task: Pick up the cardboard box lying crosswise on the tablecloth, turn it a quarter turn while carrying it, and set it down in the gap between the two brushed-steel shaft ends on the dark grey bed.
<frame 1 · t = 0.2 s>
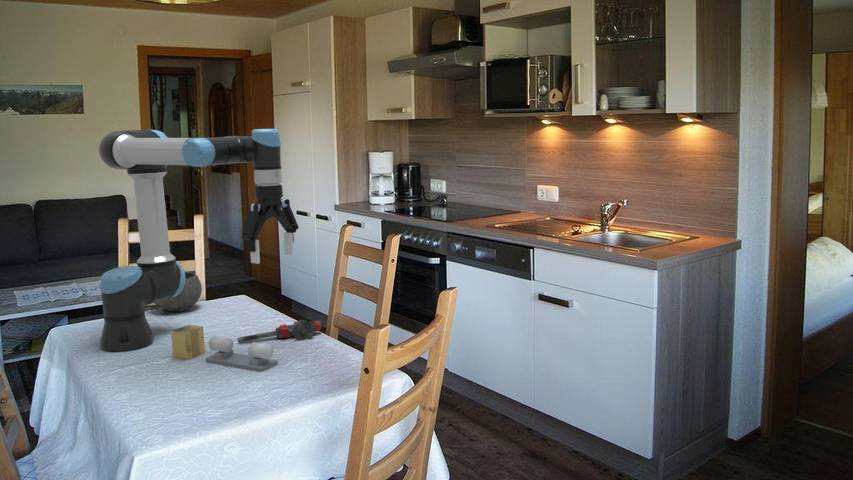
hand: (272, 258, 210), 28 cm above the table, fingers open, 13 cm apart
cardboard box: (189, 355, 214), on the table
valve: (279, 337, 231), on the table
shaft bed: (241, 362, 206), on the table
bowl: (177, 310, 267), on the table
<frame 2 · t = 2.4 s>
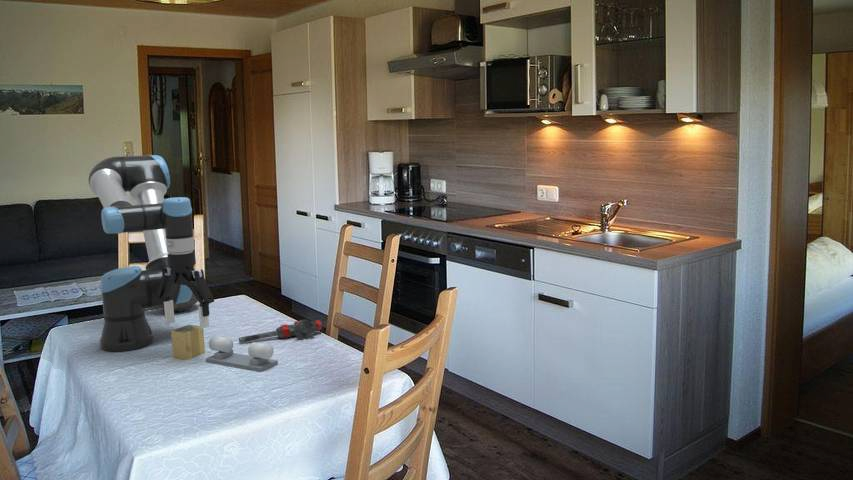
hand: (187, 325, 212), 9 cm above the table, fingers open, 13 cm apart
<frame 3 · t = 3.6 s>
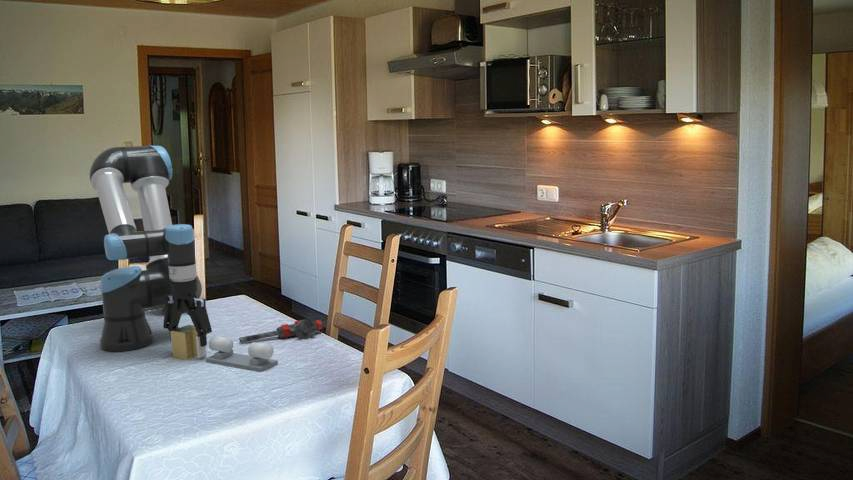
hand: (189, 354, 214), 0 cm above the table, fingers open, 9 cm apart
nothing on the table moved.
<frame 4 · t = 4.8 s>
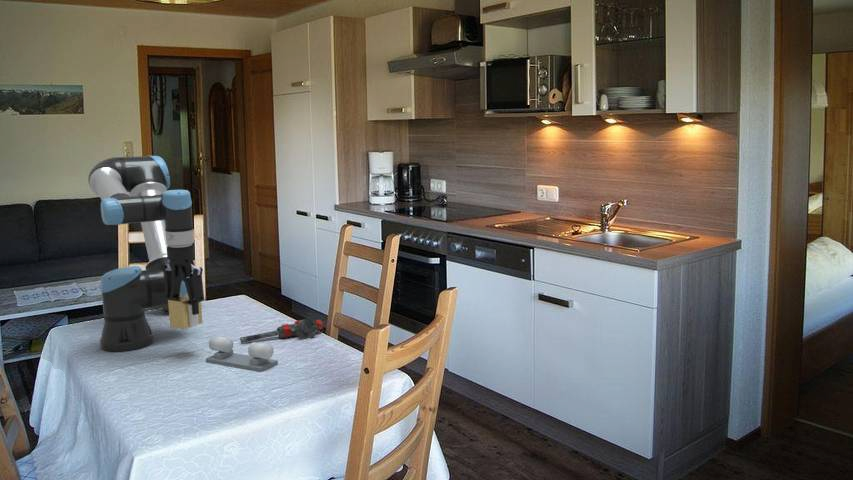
hand: (186, 323, 213), 9 cm above the table, fingers closed on cardboard box, 5 cm apart
cardboard box: (186, 324, 213), point 9 cm above the table, touching gripper
everything else where it was.
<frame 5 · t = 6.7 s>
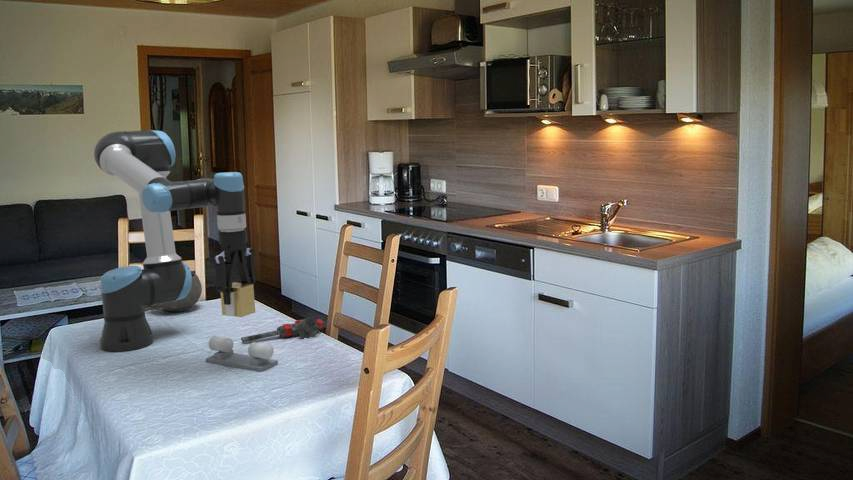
hand: (238, 312, 204), 15 cm above the table, fingers closed on cardboard box, 5 cm apart
cardboard box: (238, 313, 204), point 14 cm above the table, touching gripper
when the fingers open (1 cm above the table, at t = 8.8 s): cardboard box stays where it is, resting on shaft bed.
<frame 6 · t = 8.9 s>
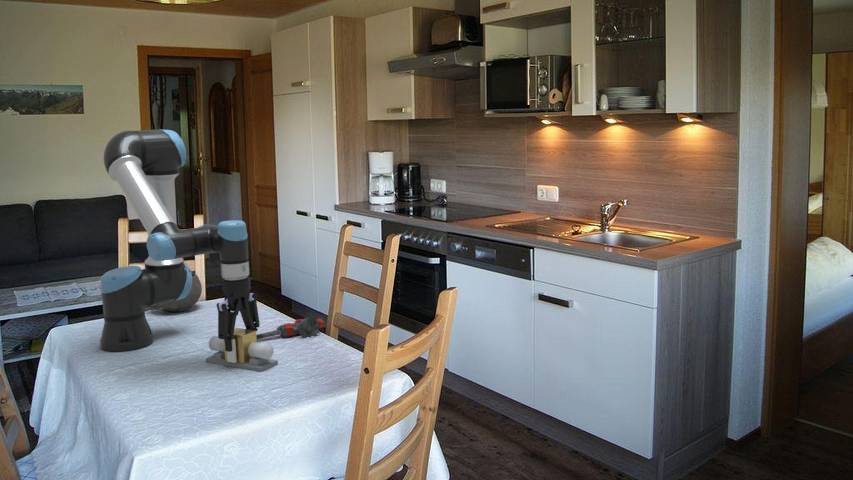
hand: (241, 357, 206), 1 cm above the table, fingers open, 7 cm apart
cardboard box: (241, 359, 206), point 1 cm above the table, touching shaft bed
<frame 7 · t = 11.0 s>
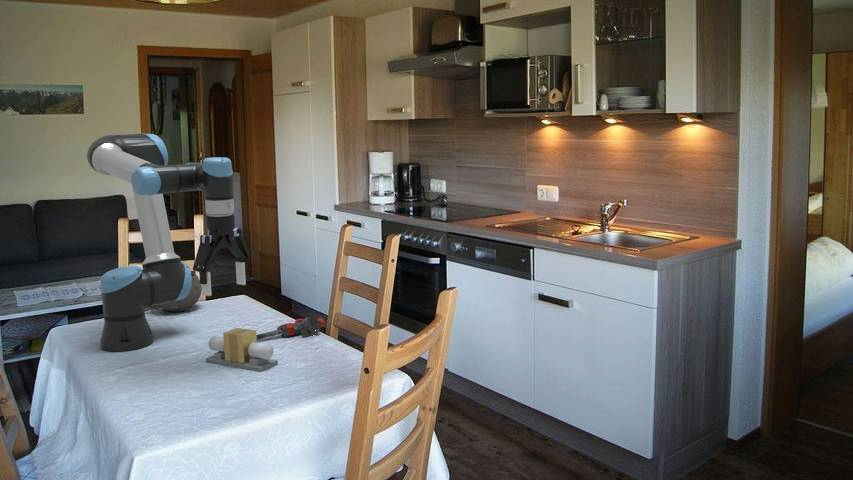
hand: (224, 289, 206), 20 cm above the table, fingers open, 13 cm apart
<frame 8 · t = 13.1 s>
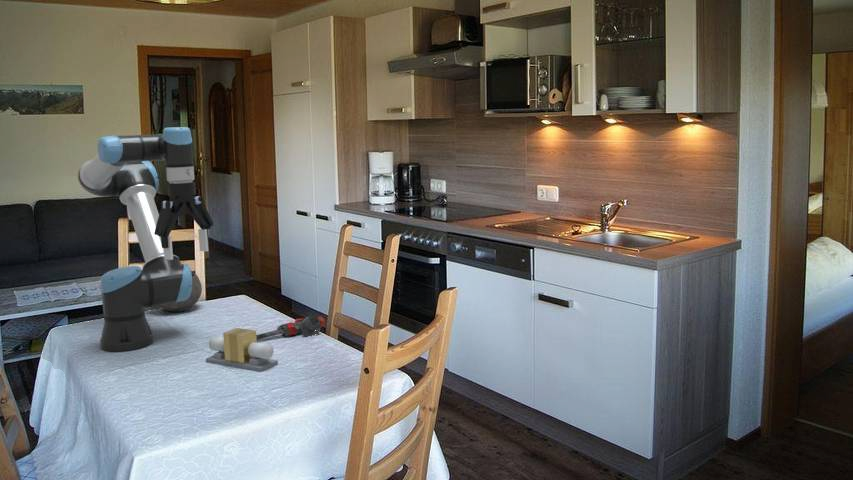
hand: (186, 255, 214), 29 cm above the table, fingers open, 13 cm apart
at the end: cardboard box 0.0 cm off-centre on the shaft bed, point 1.0 cm above the shaft bed's base; cardboard box tilted 0°; the gripper is holding nothing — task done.
